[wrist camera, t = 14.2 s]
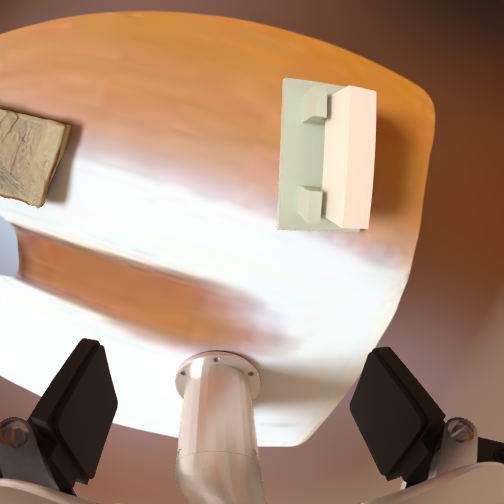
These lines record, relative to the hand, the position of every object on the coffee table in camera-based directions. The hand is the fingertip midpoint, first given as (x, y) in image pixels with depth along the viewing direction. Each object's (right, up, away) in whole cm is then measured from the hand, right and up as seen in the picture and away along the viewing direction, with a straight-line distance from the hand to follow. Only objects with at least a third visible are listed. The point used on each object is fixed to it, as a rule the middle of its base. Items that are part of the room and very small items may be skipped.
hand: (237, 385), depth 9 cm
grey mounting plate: (+9, +15, +22) cm, 28 cm away
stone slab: (-37, +20, +17) cm, 45 cm away
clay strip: (+9, +14, +18) cm, 24 cm away
